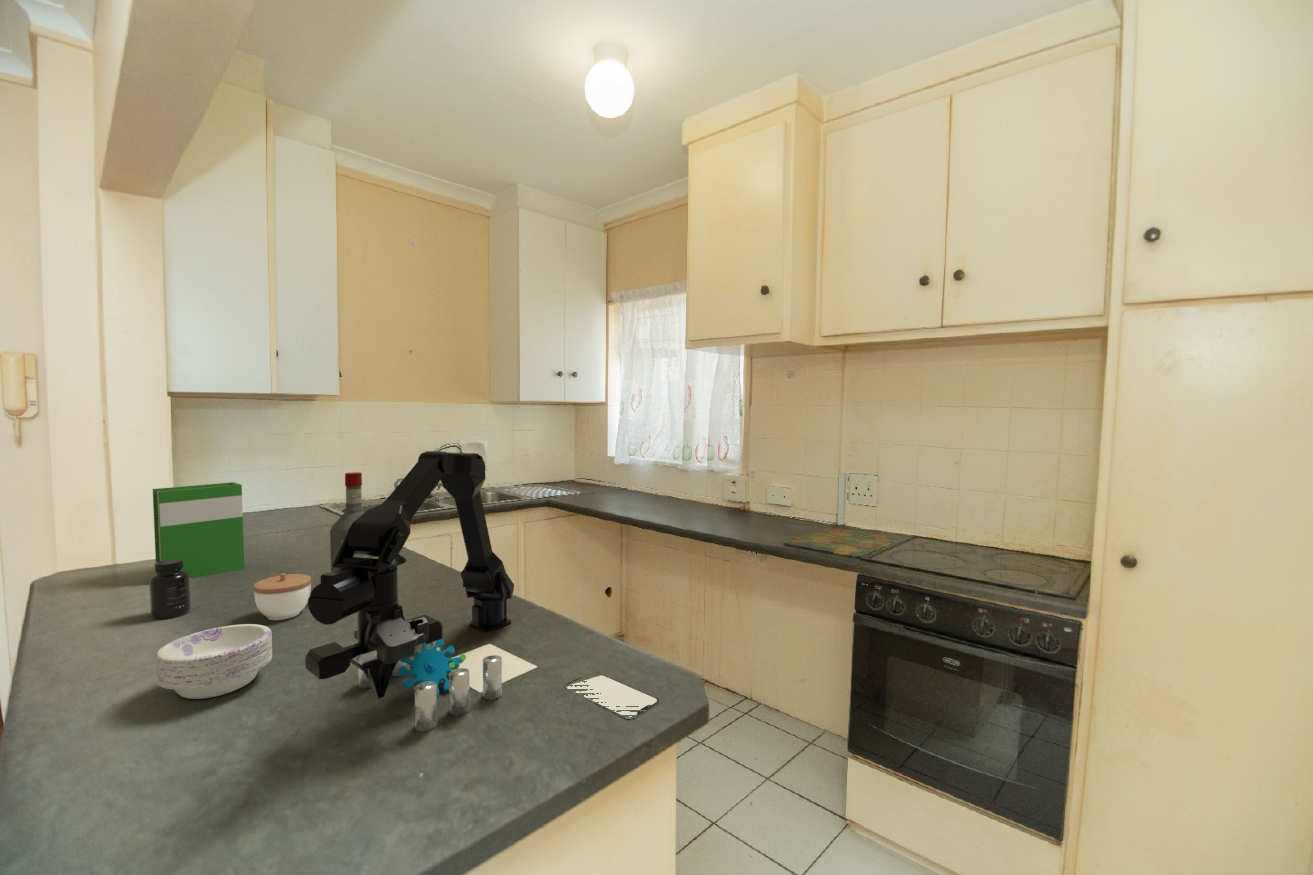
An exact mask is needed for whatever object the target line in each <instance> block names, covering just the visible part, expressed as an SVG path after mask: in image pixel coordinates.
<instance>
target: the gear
mask: <svg viewBox="0 0 1313 875" xmlns="http://www.w3.org/2000/svg"><path fill="white" fill-rule="evenodd" d="M428 644H429V643H428ZM428 644H426V643H423V644H421V646H422V649H421V651H420V652H419V651H417V648H418V646H419V645H417V648H416V653H415V655H414V656H413V659H410V658H411V657H410V658H409V657H406V658H403V659H401V660H400V661H401V662H405V663H407V664H409V665H410V670H408V669H407V668H406V667H405V666H401V667H400V669H399V671H398V675H399V676H398V677H404V676H406V675H407V676H412V677H414V679H412V678H406V679H405V680H404V682H403V686H404V688H405V689H406V690H409V689H410V688H411V687H412V686H413V685H415V684H419V683H421V682H426V681H433V682H435V683H436V687H437V697H438V696H439V694H440V690H439V684H440V681H442V682H443V685H442V690H443V691H444V692H447V691H449V678H448V677H447V675H448V676H449V673H450V672H451V671H452V670H454V669H458V668H459V664H460V663H463V661H464V660H465V659H466V656H465V655H464V654H463V653H461V654H462V655H461V654H459V655H460V657H456V658H453V657H451V658H450V657H447V656H445V654H446V655H449V656H452V655H453V654H454V653H455V650H456V649H455V647H454V645H449V646H448V647H447V648H445V649H444V650H441V651H438V650H437V648H438V647H441V648H442V647H443V645H445V640H444V639H443V638H442V639H440V640H437V641H436V643H435V646H434V647H433V648H432V649H427V647H426V646H427V645H428Z"/></svg>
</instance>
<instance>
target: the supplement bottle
mask: <svg viewBox="0 0 1313 875" xmlns="http://www.w3.org/2000/svg"><path fill="white" fill-rule="evenodd" d="M183 568H184V565H183V560H182V559H168V560H163V561H159V562H156V561H155V563H154V572H155V574H154V575H152V576H151V577H150V578H149V580H148V581H149V584H148V586H149V604H150V605H149V606H150V616H151V618H152V619H154V618H155V619H154V620H169V619H168V618H170V619H174V617H175V618H178V616H179V617H181V616H184V615H186V614H188V613H189V612H190V611H191V610H192V600H191V599H192V597H191V596H192V595H191V579H190V575H189V573H188V572H187V571H184V570H183Z"/></svg>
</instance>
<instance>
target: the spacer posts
mask: <svg viewBox="0 0 1313 875" xmlns="http://www.w3.org/2000/svg"><path fill="white" fill-rule="evenodd" d="M435 643H436V641H434V642H431V643H429V644H428V645H427V646H426V647H427V649H432V648H433V647H434V646H435ZM437 650H438V651H442V647H438V648H437ZM409 658H411V657H409ZM401 666H405V667H406V668H407V669H408V670H411V666H410V665H409V664H407V663H405V662H401V661H400V660H399V661H398V662H397V664H396V666H395V668H394V670H393V673H392V676H393V677H400V676H399V675H398V671H399V669H400V667H401ZM357 668H358V667H357ZM357 672H358V674H357V675H358V687H359V688H361V689H369V688H370V689H371V686H370V684H369V682H368V680H367V678H366V677H365V675H364V673H363V671H362V670H361V669H359V668H358V670H357ZM448 680H449V690H448V702H449V703H448V708H449V710H448V711H449V714H451V715H452V716H461V715H462V716H463V715H464V714H466V713H468V712H469V711H470V709H471V706H470V704H471V702H470V701H471V700H470V698H471V697H470V691H471V690H470V687H469V670H468V669H466V668H458V669H454V670H452V671H451V672H450V673H449V675H448ZM502 688H503V683H502V657H501V656H498V655H491V656H487V657H485V658H484V659H483V692H482V698H484V699H485V700H487V701H488V700H496V698H497V699H499V698H500V697H501V696H503V689H502ZM437 698H438V696H437V687H436V683H435V682H433V681H426V682H420V683H416V685H415V686H414V729H415V731H419V732H426V731H430V730H432V729H434V728H435V727H437V724H438V714H437V713H438V709H437V704H438V703H437V700H438V699H437Z"/></svg>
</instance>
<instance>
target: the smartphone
mask: <svg viewBox="0 0 1313 875" xmlns="http://www.w3.org/2000/svg"><path fill="white" fill-rule="evenodd" d="M596 674H598V676H595V677H591V678H588V679H585V680H584V681H587V682H585V683H584V682H582V681H583V680H580V679H582V678H583V676H581V677H578V678H576V679H574V680H572V681H574V682H575V683H573V682H571V681H570V682H567V683H565V684H564V685H566V686H568V685H573V686H572V687H571V686H568V687H567V688H565V686H564V685H563V688H564V689H565V690H567V689H588V690H587V691H581V692H580V691H576V692H573V691H571V690H568V691H569V692H570V693H572V692H573V693H572V694H574V693H594V694H595V695H592V694H591V695H590V694H588V696H586V695H584V698H599V699H593V700H590V699H587V701H588V700H589V701H588V702H591V703H592V702H599V703H598V704H597V706H598V705H599V706H598V707H600V706H602V707H603V706H606V707H603V708H602V707H601V708H602V709H604V708H605V710H606V711H607V710H611V712H610V713H612V712H613V713H612V714H614V713H615V714H614V715H616V714H617V715H616V716H618V715H620V716H622V715H640V714H641V715H643V714H644V713H643V712H644V711H641V712H640V711H638V712H630V711H621V712H616V711H617V710H648V711H649V710H650V708H651V709H652V708H654V707H655V706H657V705H659V704H660V703H661V702H660V699H659V697H656V696H654V695H651V694H649V693H647V692H644V691H642V690H640V689H637V688H635V687H633V686H630V685H628V684H625V683H623V682H622V681H618V680H616V679H614V678H612V677H609V676H607V675H605V674H603V673H600V672H599V671H598V672H596ZM579 680H580V681H579ZM576 681H579V682H580V683H579V682H576ZM574 685H589V686H588V687H587V686H582V687H580V686H577V687H575V686H574ZM590 689H593V690H590ZM596 693H599V694H596ZM600 693H601V694H600ZM582 697H583V696H582ZM582 697H581V698H582ZM584 698H583V699H584ZM601 702H603V703H601ZM605 702H606V703H605ZM658 703H659V704H658ZM595 705H596V703H595ZM607 706H609V707H607ZM616 706H620V707H616ZM626 706H639V707H626ZM648 706H649V707H648ZM653 706H654V707H653ZM612 710H615V711H612ZM637 713H638V714H637ZM642 713H643V714H642ZM641 715H640V716H641ZM620 716H619V717H620ZM631 717H632V716H629V717H624V716H623V718H622V719H624V718H626V719H632V718H631ZM626 719H625V720H626Z"/></svg>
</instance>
